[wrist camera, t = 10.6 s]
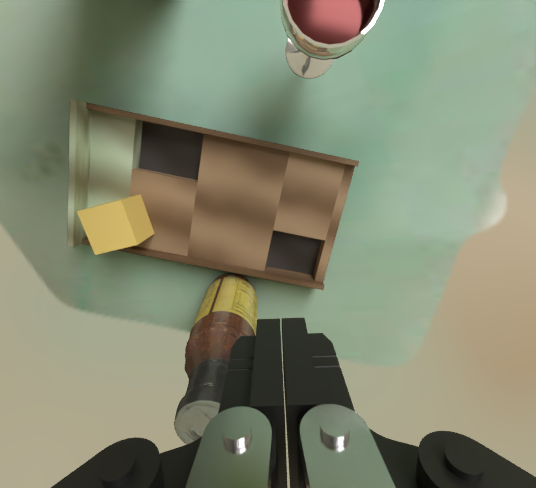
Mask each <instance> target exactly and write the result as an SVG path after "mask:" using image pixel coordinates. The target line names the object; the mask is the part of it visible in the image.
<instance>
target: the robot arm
mask: <svg viewBox="0 0 536 488" xmlns="http://www.w3.org/2000/svg"><path fill="white" fill-rule="evenodd" d="M282 343H283V369H284V386H285V387H284V388H285V405H286V422H287V440H288V457H289V475H290V488H536V477H534V476H533V475H531V474H529V473H528V472H526V471H525V470H523V469H521V468H520V467H518V466H516V465H515V464H513V463H511V462H510V461H508V460H506V459H505V458H503V457H501V456H500V455H498V454H497V453H495V452H493V451H492V450H490V449H488V448H486V447H485V446H484V445H482V444H480V443H478V442H477V441H475V440H473V439H471V438H469V437H467V436H464V435H462V434H458V433H455V432H450V431H436V432H432V433H430V434H428V435H426V436H425V437H424V438H423V439H422V441H421V442H420V445H419V447H417V446H413V445H409V444H406V443H402V442H398V441H394V440H391V439H388V438H385V437H383V436H381V435H379V434H377V433H375V432H373V431H372V430H370V429H369V427H368V426H367V424H366V422H365V421H364V420H363V419H362V418H361V417H360V416H359V415H358V414H357V413H356V412H355V410H354V407H353V404H352V401H351V398H350V396H349V392H348V389H347V386H346V383H345V380H344V377H343V374H342V371H341V368H340V366H339V362H338V359H337V357H336V353H335V350H334V347H333V344H332V342H331V341H330V340H329V339H328V338H327V337H326V336H325V335H324V334H323V333H313V334H308V333H307V328H306V323H305V319H304V318H282ZM285 442H286V441H285V414H284V391H283V372H282V353H281V334H280V319H257V327H256V336H240V338H239V339H238V340H237V341H236V342H235V343H234V345H233V346H232V349H231V354H230V361H229V364H228V370H227V373H226V378H225V383H224V388H223V392H222V397H221V402H220V407H219V412H218V414H217V415H216V416H215V417H214V418H212V420H211V421H210V422H209V423H208V425H207V426H206V428H205V430H204V433H203V436H201V437H200V438H198V439H197V440H195V441H193V442H192V443H190V444H187V445H184V446H182V447H179V448H176V449H173V450H170V451H166V452H163V453H160V454H159V451H158V448H157V447H156V446H155V444H154V443H152V442H151V441H149V440H147V439H144V438H128V439H125V440H121V441H119V442H116V443H114V444H112V445H110V446H108V447H107V448H105V449H104V450H102V451H101V452H99V453H98V454H97V455H95V456H94V457H92V458H91V459H90V460H88V461H87V462H86V463H84V464H83V465H81V466H80V467H79V468H77V469H76V470H75V471H73V472H72V473H70V474H69V475H68V476H66V477H65V478H63V479H62V480H61V481H60V482H58V483H57V484H55V485H54V486H53V487H51V488H287V467H286V443H285Z"/></svg>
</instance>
